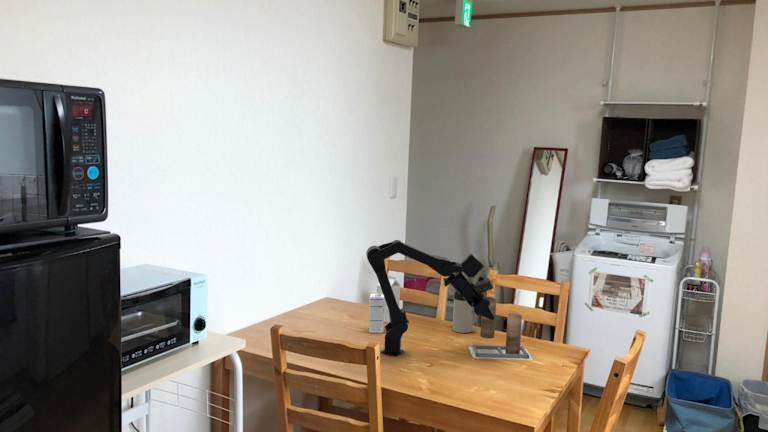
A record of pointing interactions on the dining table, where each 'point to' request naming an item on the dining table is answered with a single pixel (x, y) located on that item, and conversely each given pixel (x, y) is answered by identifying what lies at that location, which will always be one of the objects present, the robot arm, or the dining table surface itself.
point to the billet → (488, 321)
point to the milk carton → (396, 291)
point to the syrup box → (376, 313)
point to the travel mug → (462, 315)
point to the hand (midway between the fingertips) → (492, 317)
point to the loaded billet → (513, 333)
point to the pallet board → (497, 352)
